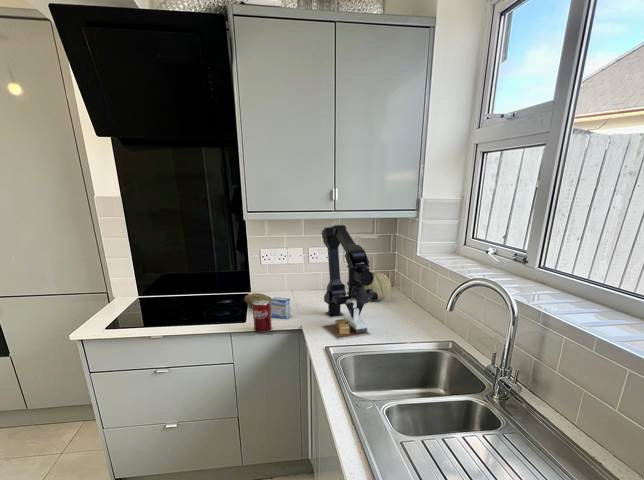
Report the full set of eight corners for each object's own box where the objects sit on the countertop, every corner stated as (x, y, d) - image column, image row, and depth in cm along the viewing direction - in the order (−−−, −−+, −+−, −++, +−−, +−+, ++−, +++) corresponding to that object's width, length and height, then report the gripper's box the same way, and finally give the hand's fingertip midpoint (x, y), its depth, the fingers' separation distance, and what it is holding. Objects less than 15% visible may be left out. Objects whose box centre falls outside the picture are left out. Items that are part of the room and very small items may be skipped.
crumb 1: (335, 326, 174) (335, 320, 173) (343, 325, 176) (343, 318, 175) (340, 329, 171) (340, 322, 170) (348, 327, 173) (348, 321, 171)
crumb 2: (339, 330, 169) (339, 324, 168) (348, 330, 169) (348, 323, 168) (339, 334, 165) (339, 327, 164) (349, 334, 166) (349, 327, 164)
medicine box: (271, 317, 188) (270, 299, 184) (275, 314, 191) (274, 296, 188) (286, 318, 185) (285, 300, 182) (290, 316, 189) (290, 298, 186)
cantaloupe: (395, 299, 214) (397, 271, 209) (378, 305, 205) (379, 276, 199) (373, 294, 224) (374, 267, 218) (356, 300, 214) (356, 271, 208)
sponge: (277, 314, 196) (269, 295, 212) (274, 300, 191) (266, 282, 207) (251, 321, 194) (245, 302, 209) (247, 307, 189) (241, 288, 204)
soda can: (266, 333, 167) (264, 305, 162) (251, 331, 169) (248, 304, 165) (274, 328, 173) (273, 301, 169) (259, 326, 176) (257, 299, 171)
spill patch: (323, 326, 175) (323, 326, 175) (352, 322, 180) (352, 321, 180) (337, 338, 161) (337, 338, 161) (369, 334, 166) (369, 333, 166)
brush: (343, 323, 177) (343, 304, 173) (353, 322, 178) (354, 303, 175) (356, 333, 166) (356, 313, 162) (367, 331, 167) (367, 311, 164)
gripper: (342, 287, 154) (342, 326, 160) (385, 282, 161) (383, 319, 167) (331, 281, 163) (331, 318, 170) (372, 277, 170) (371, 312, 176)
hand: (355, 317), depth 170 cm, fingers closed on brush, 2 cm apart
